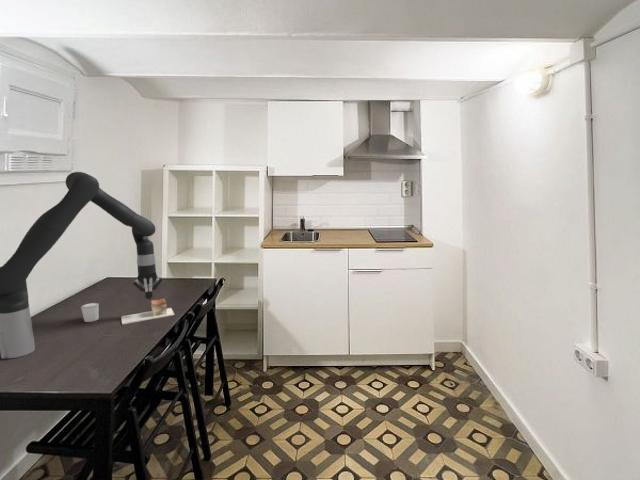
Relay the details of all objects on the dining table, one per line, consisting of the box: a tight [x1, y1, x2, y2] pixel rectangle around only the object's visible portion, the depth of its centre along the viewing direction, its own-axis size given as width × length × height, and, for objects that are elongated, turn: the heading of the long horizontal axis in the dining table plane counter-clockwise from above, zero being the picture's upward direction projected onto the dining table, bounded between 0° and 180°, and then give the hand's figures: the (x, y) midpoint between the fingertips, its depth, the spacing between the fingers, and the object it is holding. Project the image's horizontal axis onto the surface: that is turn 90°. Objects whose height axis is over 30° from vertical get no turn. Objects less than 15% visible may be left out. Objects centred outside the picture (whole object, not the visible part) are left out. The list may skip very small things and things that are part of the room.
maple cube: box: [150, 298, 168, 316], centre depth 169 cm, size 6×6×6 cm
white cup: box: [80, 302, 100, 323], centre depth 162 cm, size 7×7×7 cm
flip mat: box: [121, 307, 175, 325], centre depth 167 cm, size 22×10×1 cm, turn 121°
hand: (149, 298), depth 166 cm, fingers closed
